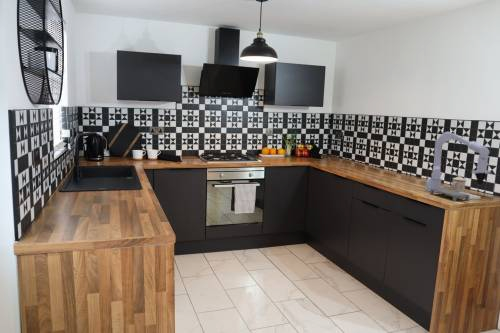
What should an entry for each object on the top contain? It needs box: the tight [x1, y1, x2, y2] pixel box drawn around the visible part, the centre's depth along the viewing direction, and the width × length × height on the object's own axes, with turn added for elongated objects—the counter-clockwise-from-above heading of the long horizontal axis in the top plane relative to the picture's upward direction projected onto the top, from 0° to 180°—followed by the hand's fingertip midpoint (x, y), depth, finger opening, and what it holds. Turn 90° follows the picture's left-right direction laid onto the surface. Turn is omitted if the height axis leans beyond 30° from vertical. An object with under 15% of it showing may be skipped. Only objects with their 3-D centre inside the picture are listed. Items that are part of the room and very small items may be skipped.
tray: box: [457, 191, 482, 201], centre depth 269 cm, size 12×15×2 cm
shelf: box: [429, 187, 470, 203], centre depth 265 cm, size 12×22×4 cm, turn 17°
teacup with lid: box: [450, 175, 467, 192], centre depth 290 cm, size 12×9×12 cm
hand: (479, 183), depth 272 cm, fingers closed
